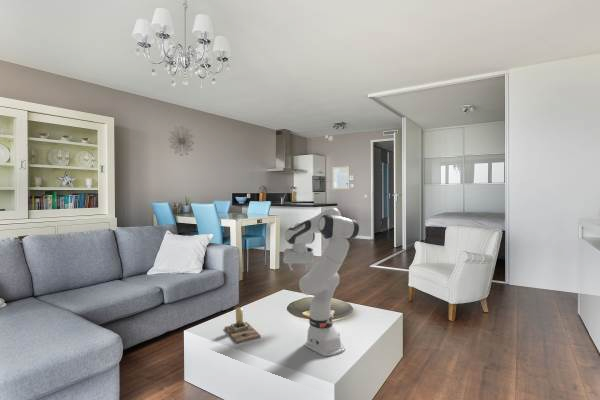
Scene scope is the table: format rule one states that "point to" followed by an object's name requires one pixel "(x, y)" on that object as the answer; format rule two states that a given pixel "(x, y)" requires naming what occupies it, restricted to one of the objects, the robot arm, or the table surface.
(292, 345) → the table surface
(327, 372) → the table surface
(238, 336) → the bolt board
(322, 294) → the robot arm
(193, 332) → the table surface
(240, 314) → the brass peg
